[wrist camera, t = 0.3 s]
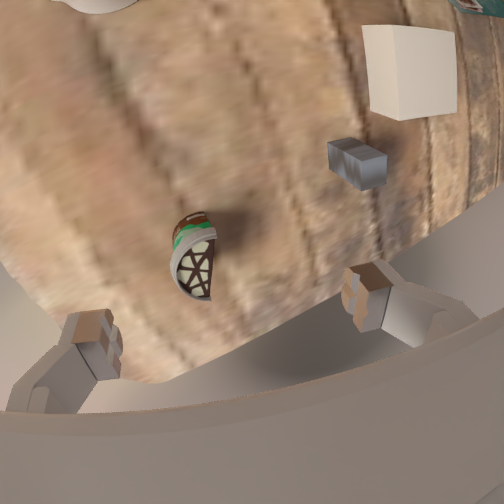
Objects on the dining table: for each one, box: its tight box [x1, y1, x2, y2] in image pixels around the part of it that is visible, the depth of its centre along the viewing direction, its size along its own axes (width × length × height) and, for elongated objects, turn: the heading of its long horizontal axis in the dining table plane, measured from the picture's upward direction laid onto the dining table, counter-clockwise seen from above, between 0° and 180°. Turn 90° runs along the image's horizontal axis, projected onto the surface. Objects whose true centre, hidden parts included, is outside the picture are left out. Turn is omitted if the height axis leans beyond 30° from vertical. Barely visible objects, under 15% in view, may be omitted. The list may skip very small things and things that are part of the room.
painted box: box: [362, 25, 457, 121], centre depth 43 cm, size 16×16×8 cm
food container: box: [170, 212, 217, 301], centre depth 49 cm, size 12×6×10 cm, turn 171°
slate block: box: [327, 138, 387, 191], centre depth 49 cm, size 5×5×10 cm
